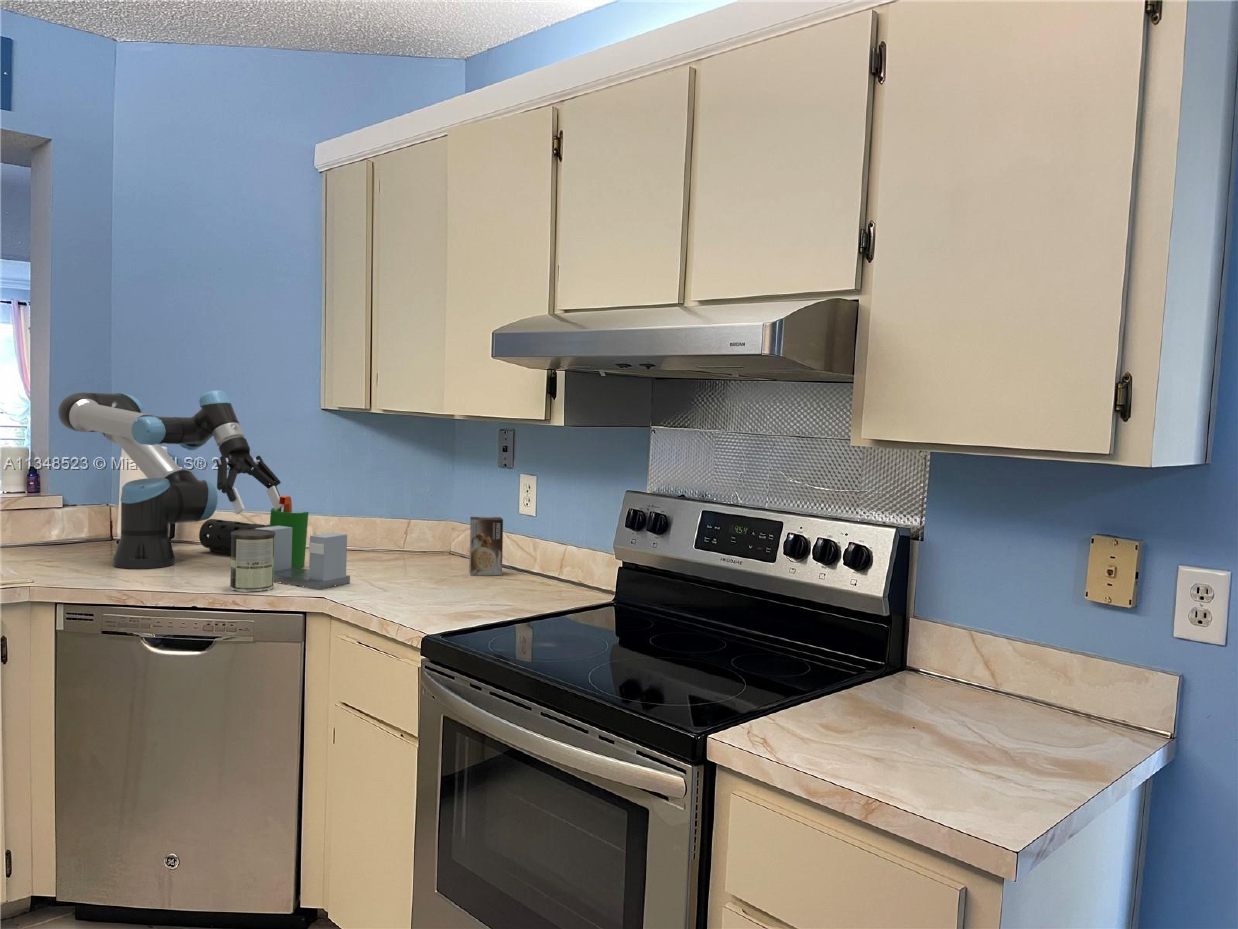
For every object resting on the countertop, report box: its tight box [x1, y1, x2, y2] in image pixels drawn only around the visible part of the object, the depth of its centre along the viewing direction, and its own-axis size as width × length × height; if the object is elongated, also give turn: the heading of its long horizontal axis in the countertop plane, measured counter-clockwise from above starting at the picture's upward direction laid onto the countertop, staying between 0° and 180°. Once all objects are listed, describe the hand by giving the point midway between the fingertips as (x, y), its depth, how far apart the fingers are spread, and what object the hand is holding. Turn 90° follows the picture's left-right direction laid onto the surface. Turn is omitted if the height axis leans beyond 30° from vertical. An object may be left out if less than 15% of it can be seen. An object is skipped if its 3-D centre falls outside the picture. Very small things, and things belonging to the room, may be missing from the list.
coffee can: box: [229, 529, 275, 592], centre depth 232 cm, size 10×10×14 cm
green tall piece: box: [269, 495, 309, 568], centre depth 263 cm, size 10×9×20 cm
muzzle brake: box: [198, 518, 270, 555], centre depth 277 cm, size 10×28×10 cm, turn 68°
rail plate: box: [273, 567, 351, 590], centre depth 244 cm, size 24×11×2 cm, turn 64°
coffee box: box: [468, 516, 504, 576], centre depth 267 cm, size 9×6×16 cm
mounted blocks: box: [255, 526, 348, 581], centre depth 244 cm, size 24×8×11 cm, turn 64°
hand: (260, 510), depth 255 cm, fingers open, 13 cm apart
